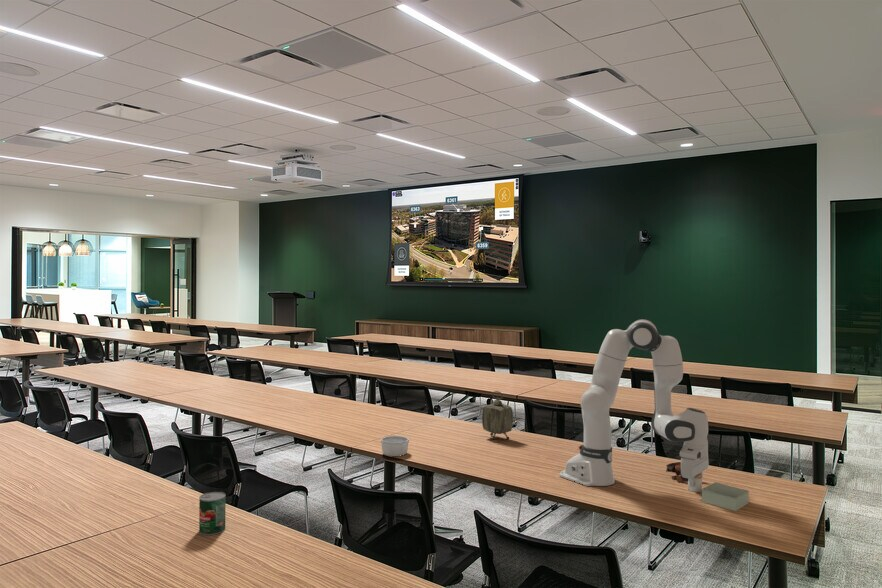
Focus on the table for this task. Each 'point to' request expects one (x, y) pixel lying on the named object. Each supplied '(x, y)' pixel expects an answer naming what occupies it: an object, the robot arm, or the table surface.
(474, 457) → the table surface
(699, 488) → the pink capped tube
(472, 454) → the table surface
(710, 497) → the sage box
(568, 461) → the robot arm
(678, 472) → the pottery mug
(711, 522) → the table surface
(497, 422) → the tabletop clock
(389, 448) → the ramekin
